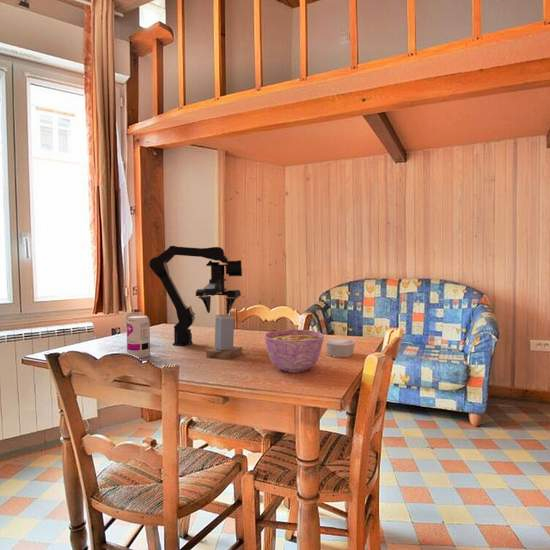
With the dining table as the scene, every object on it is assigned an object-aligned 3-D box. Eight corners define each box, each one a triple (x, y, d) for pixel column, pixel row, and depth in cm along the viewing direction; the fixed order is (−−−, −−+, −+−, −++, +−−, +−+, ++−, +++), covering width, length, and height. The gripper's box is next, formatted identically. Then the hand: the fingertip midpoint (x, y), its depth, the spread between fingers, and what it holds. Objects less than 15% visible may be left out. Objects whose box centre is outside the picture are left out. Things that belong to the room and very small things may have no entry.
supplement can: (129, 359, 163) (128, 319, 163) (125, 355, 171) (124, 316, 170) (152, 357, 167) (151, 317, 166) (147, 352, 174) (146, 314, 174)
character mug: (148, 343, 191) (147, 313, 190) (132, 346, 186) (131, 315, 186) (136, 340, 199) (135, 311, 198) (120, 342, 194) (120, 312, 193)
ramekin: (352, 359, 162) (352, 345, 162) (322, 357, 166) (322, 343, 165) (356, 352, 173) (356, 339, 173) (328, 351, 176) (328, 337, 176)
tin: (214, 347, 170) (215, 315, 170) (227, 346, 173) (228, 314, 173) (220, 350, 166) (221, 317, 165) (233, 349, 169) (234, 316, 168)
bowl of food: (320, 361, 160) (320, 329, 159) (328, 377, 140) (328, 340, 139) (264, 362, 159) (264, 329, 158) (264, 378, 139) (263, 341, 138)
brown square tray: (206, 358, 167) (206, 350, 167) (219, 352, 176) (219, 345, 176) (230, 360, 163) (230, 352, 163) (242, 354, 172) (242, 347, 172)
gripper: (188, 277, 185) (189, 314, 186) (229, 278, 178) (229, 317, 179) (202, 275, 195) (202, 311, 196) (241, 276, 189) (241, 313, 189)
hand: (218, 313), depth 190 cm, fingers open, 9 cm apart
